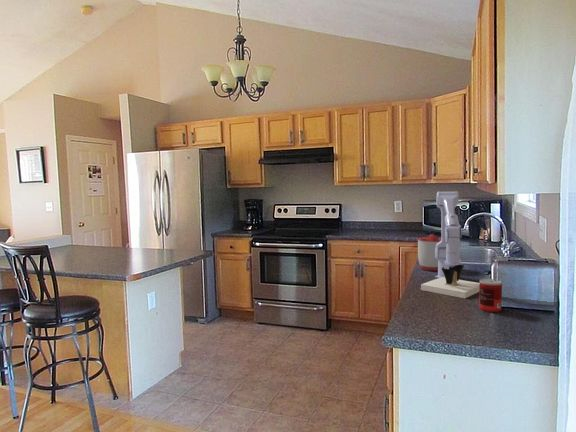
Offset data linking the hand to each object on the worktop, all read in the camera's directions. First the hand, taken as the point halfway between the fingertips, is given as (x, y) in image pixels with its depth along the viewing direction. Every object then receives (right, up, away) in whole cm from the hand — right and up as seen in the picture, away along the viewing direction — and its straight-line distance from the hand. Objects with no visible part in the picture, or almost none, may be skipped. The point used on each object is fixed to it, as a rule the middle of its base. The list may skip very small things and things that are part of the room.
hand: (452, 282), depth 182 cm
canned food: (+2, -6, -29) cm, 29 cm away
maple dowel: (0, -3, 0) cm, 3 cm away
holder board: (0, -3, 0) cm, 3 cm away
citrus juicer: (+7, 0, +44) cm, 45 cm away
